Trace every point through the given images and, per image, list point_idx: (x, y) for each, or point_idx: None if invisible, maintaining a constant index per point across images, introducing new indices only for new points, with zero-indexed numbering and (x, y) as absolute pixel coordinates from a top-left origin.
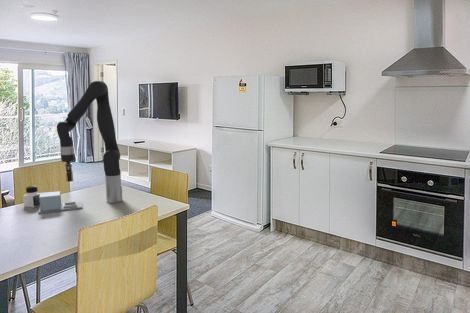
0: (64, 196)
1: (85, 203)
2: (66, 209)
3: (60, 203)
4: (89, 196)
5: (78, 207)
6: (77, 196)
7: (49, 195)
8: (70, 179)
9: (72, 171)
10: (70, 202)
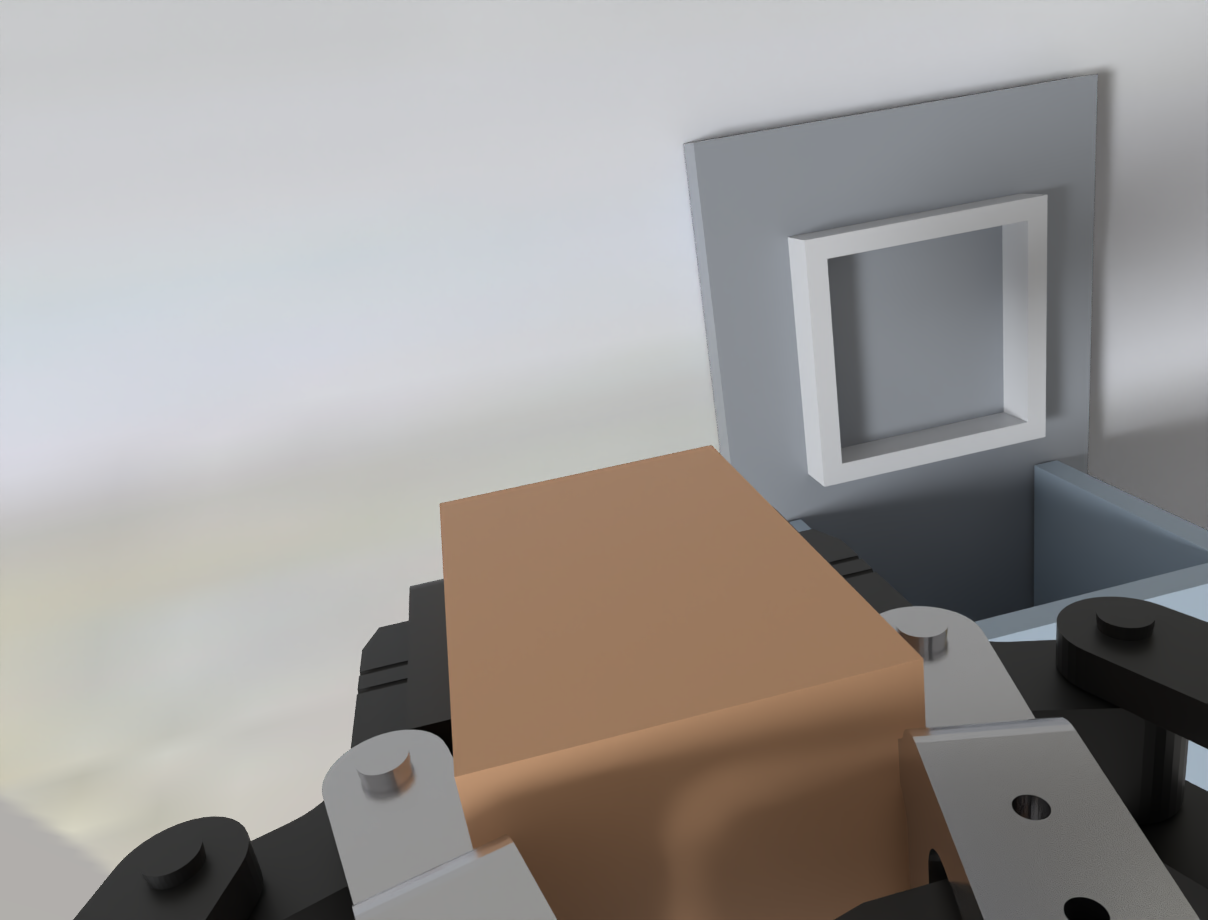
0: (20, 629)
1: (727, 56)
2: (1081, 364)
3: (1129, 494)
4: (87, 14)
5: (1095, 153)
6: (52, 336)
7: (1201, 767)
8: (849, 561)
9: (739, 697)
10: (833, 358)
